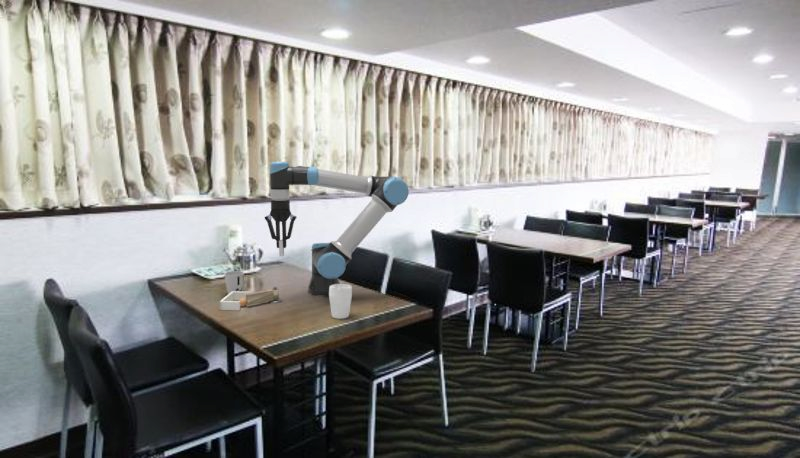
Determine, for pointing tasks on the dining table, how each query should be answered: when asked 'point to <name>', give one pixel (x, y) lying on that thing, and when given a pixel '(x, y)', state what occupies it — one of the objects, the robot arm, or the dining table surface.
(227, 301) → the white u-shaped bracket
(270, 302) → the pivot base
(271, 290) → the tan wooden bar
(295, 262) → the dining table surface
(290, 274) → the dining table surface
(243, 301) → the ball
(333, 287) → the cup
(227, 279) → the cup
